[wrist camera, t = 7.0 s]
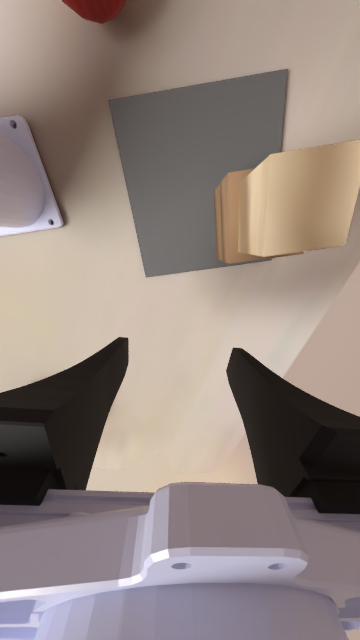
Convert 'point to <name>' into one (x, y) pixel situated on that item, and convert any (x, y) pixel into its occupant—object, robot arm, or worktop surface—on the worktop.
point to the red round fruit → (96, 9)
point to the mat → (192, 161)
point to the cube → (299, 200)
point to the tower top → (234, 219)
